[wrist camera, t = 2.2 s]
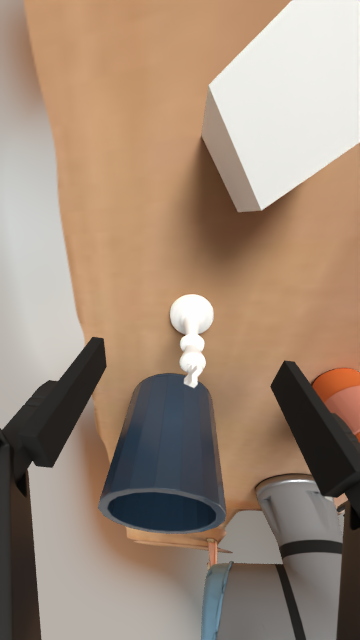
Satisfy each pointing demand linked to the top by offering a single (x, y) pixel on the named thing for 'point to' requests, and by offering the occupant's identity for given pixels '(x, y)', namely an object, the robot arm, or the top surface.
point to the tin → (166, 461)
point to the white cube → (286, 102)
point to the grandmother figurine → (212, 552)
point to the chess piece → (191, 332)
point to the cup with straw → (341, 395)
